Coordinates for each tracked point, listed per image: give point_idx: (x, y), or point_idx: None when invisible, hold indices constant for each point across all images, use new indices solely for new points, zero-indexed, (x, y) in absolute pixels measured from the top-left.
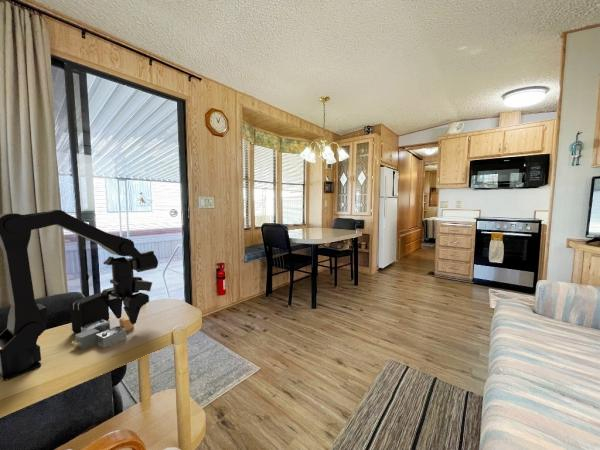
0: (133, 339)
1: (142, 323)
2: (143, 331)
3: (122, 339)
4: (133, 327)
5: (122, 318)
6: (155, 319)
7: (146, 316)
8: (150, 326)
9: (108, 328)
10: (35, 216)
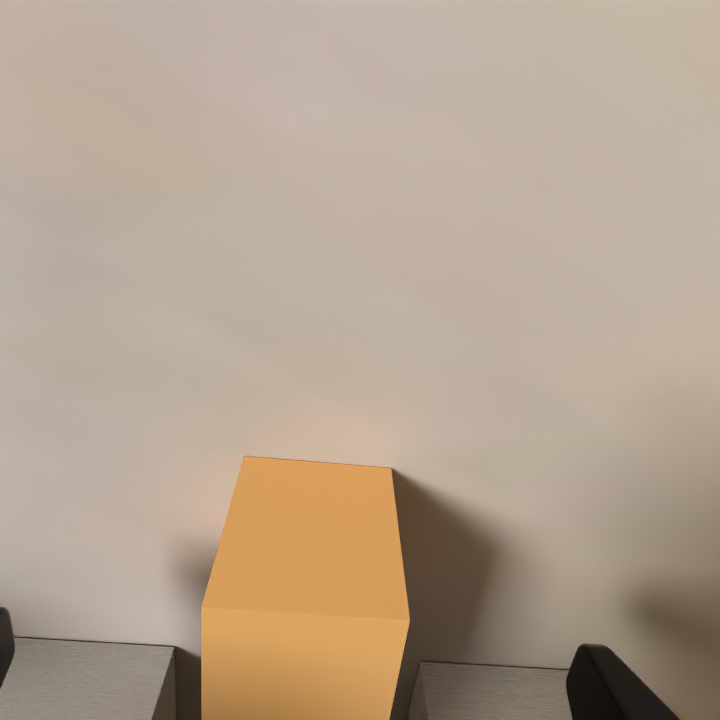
0: (705, 649)
1: (382, 312)
2: (671, 490)
3: None
4: (391, 480)
5: (209, 708)
6: (490, 50)
7: (88, 4)
8: (654, 338)
9: (158, 711)
10: None
